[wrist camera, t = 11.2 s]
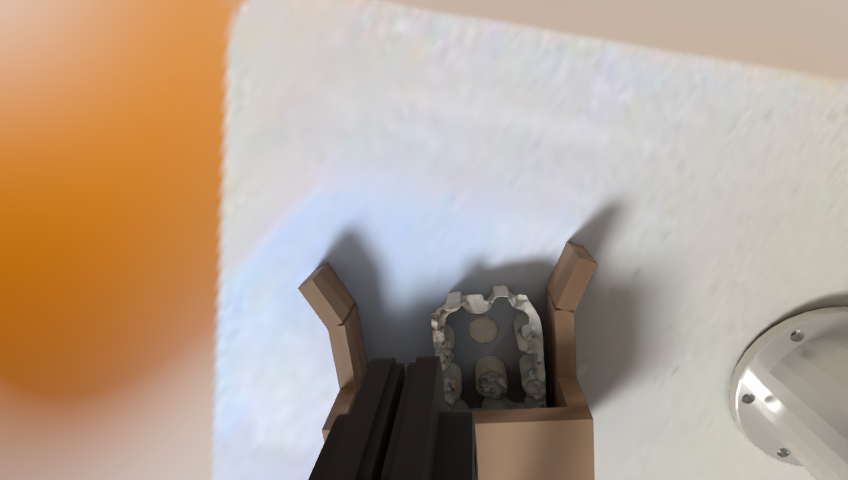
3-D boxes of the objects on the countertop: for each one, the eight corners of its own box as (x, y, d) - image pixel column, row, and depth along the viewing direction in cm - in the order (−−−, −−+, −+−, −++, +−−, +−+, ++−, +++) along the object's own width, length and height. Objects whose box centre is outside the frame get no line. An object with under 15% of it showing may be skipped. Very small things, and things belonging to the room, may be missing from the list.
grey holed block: (430, 287, 33) (425, 310, 29) (533, 278, 32) (542, 301, 28) (446, 410, 36) (444, 446, 32) (541, 405, 35) (551, 442, 31)
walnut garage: (583, 240, 31) (619, 281, 23) (588, 428, 35) (620, 513, 28) (313, 263, 33) (270, 308, 26) (348, 437, 37) (319, 518, 30)
